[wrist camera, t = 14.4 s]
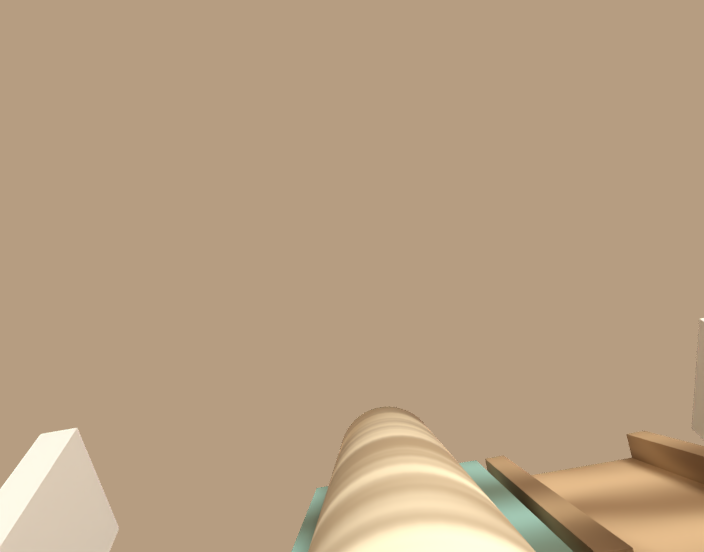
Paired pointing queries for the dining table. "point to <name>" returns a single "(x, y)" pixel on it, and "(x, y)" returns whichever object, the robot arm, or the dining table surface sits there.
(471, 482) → the cream rounded cylinder
